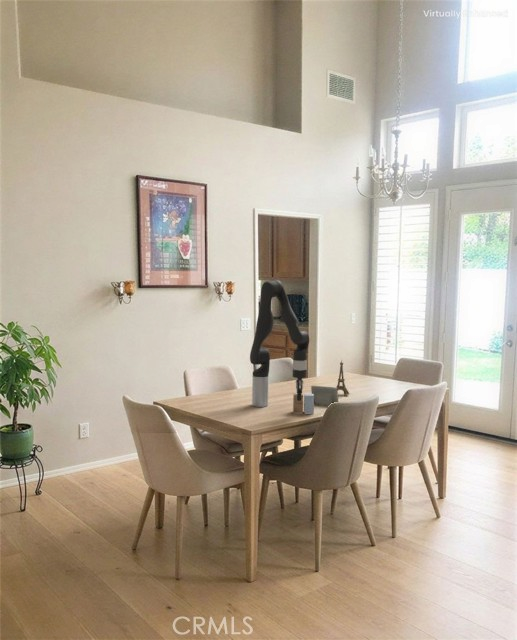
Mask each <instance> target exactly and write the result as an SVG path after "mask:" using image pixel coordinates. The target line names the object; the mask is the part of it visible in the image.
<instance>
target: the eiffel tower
mask: <svg viewBox="0 0 517 640" xmlns="http://www.w3.org/2000/svg"><path fill="white" fill-rule="evenodd" d="M339 365H340V367H339V374H338V375H339V376H338V379H337V385H336V387H335V388H337V391H339V390H340V391H343V397H346V398H347V397H349V395H351V394H350V392H349V389H347V387H346V384H345V377H344V369H343V368H344V366H343V365H344V362H343V360H341V362H339ZM340 384H341V385H340Z"/></svg>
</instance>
